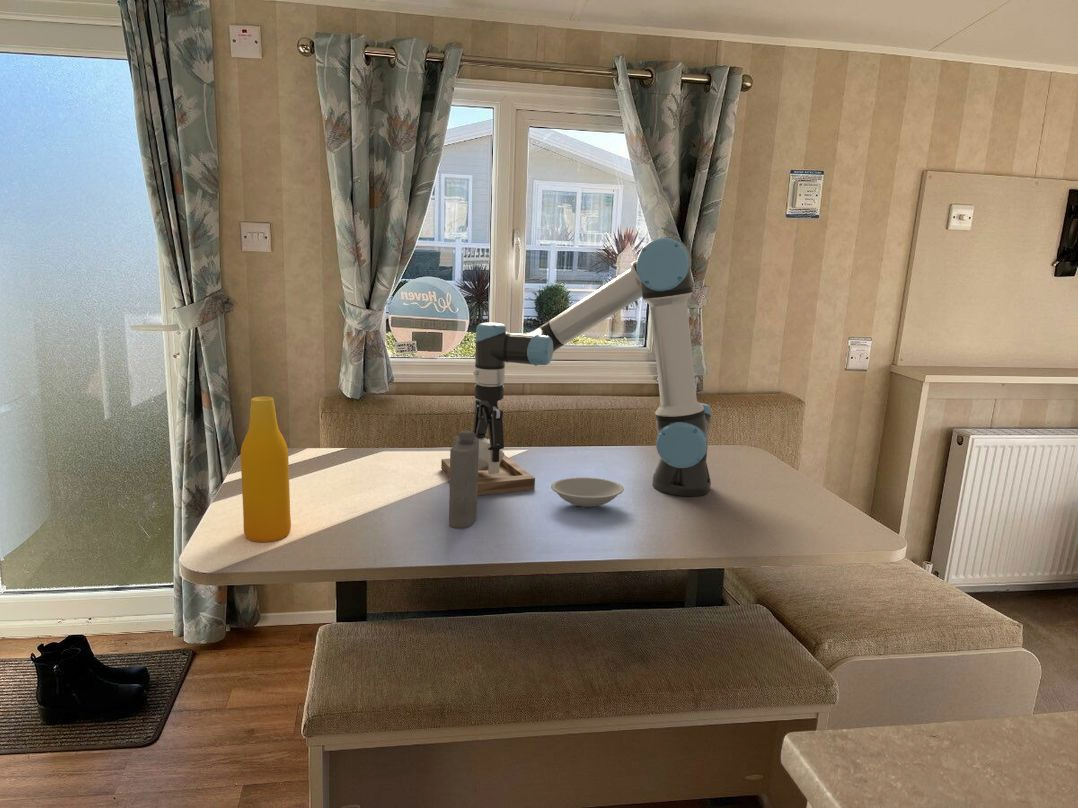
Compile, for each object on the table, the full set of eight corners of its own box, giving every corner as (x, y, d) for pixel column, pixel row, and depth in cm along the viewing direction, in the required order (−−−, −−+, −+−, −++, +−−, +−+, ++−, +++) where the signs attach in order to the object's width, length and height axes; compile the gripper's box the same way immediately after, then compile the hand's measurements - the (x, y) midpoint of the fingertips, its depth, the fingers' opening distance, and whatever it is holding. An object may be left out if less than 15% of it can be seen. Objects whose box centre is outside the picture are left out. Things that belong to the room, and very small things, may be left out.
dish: (613, 495, 187) (615, 476, 186) (629, 516, 173) (631, 496, 172) (545, 496, 184) (546, 477, 183) (555, 518, 170) (557, 497, 169)
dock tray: (534, 489, 189) (535, 478, 188) (467, 496, 182) (467, 484, 181) (502, 464, 209) (503, 453, 208) (441, 469, 201) (441, 459, 201)
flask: (474, 529, 162) (476, 441, 157) (447, 528, 162) (449, 440, 157) (478, 505, 176) (481, 423, 172) (454, 504, 176) (456, 422, 172)
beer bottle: (276, 545, 149) (271, 405, 143) (234, 540, 151) (227, 401, 144) (299, 528, 158) (295, 395, 152) (259, 523, 160) (253, 392, 153)
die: (494, 478, 189) (513, 446, 191) (465, 461, 188) (484, 429, 190) (490, 479, 197) (508, 448, 199) (462, 463, 196) (480, 432, 198)
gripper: (461, 376, 198) (460, 457, 203) (490, 393, 178) (488, 481, 183) (488, 375, 201) (486, 454, 206) (519, 391, 181) (516, 479, 186)
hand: (487, 467), depth 194 cm, fingers closed on die, 9 cm apart
